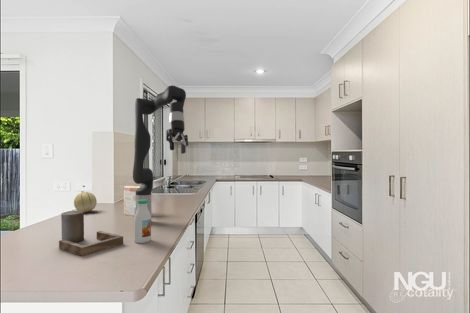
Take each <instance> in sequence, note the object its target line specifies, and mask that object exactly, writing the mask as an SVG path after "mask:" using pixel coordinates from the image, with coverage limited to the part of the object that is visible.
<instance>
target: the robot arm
mask: <svg viewBox="0 0 470 313" xmlns="http://www.w3.org/2000/svg"><path fill="white" fill-rule="evenodd" d="M186 97H187V93H186V90H185V89H184V88H181V87H178V86H176V85H169V86H167V88H166V89H165V90H164V91H163V92H159V93H158V94H157V95H156V96H155V98H154V99H151V100H150V99H147V98H141V97H139V98H136V99H134V104H133V113H134V159H133V168H132V180H133V182H134V183H135V184H137V185H140V188H138V189H137V190H136V207H135V214H136V212H137V209H138V200H142V199H146V200H148V204H147V207H148V210H149V212H150V215H151V216H152V191H153V189H154V173H153V170H152V169H151V168H147V167H144V164H145V160H146V157H147V155H148V153H149V151H150V150H151V134H150V132H149V130H148V128H147V126H146V124H145V122H144V121H145V120H144V117H143V115H148V116H149V115H152V114H153V113H155V112H156V111H158V110H159V109H160V108H162V107H164V106H166V105H169V128H168V129H166V132H165V135H166V136H165V138H166V139H165V140H166V142H168V143H169V151H174V150H175V141H176V142H178V144H180V146H181V147H180V153H181V154H186V152H187V150H186V147H188V146H189V139H188V134H184V131H185V129H186V127H185V116H184V106H185V101H186Z"/></svg>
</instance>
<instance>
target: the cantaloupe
mask: <svg viewBox="0 0 470 313" xmlns="http://www.w3.org/2000/svg"><path fill="white" fill-rule="evenodd" d="M97 201H98V200H97V197H96V196H95V195H94V193H92V192H90V191H83V190H82V191H81V192H80V193H78V194H76V196H74V199H73V206H74V208H75V209H76V211H83V212H87V213H89V212H91V211H93V210H94V209H95V208H96V207H97V203H98V202H97Z"/></svg>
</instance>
